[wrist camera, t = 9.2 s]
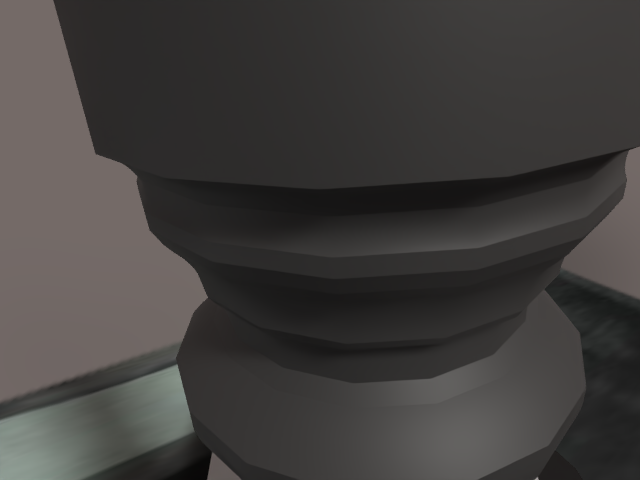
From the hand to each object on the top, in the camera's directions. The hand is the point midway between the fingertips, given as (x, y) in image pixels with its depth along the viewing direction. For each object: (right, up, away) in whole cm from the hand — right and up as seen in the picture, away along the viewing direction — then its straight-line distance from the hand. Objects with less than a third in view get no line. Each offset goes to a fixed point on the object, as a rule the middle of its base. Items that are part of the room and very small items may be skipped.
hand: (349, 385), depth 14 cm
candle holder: (+1, -14, +1) cm, 14 cm away
